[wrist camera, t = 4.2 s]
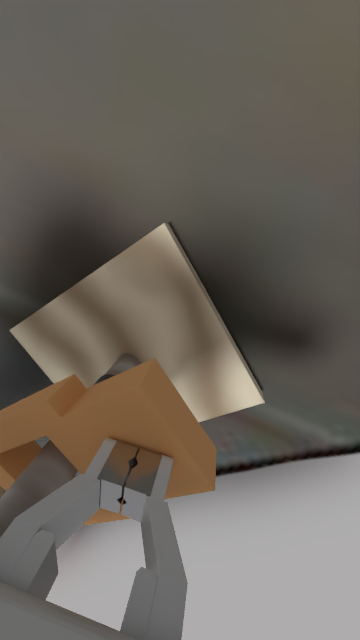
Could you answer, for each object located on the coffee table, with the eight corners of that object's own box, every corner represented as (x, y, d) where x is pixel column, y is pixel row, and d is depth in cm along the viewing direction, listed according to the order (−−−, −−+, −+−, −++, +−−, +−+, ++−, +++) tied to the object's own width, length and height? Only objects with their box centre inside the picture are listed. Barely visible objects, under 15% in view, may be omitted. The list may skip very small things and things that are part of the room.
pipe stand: (113, 438, 29) (-16, 679, 13) (21, 324, 25) (-323, 482, 9) (262, 391, 22) (348, 774, 7) (168, 223, 18) (-204, 175, 2)
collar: (67, 496, 16) (47, 530, 14) (-10, 415, 14) (-46, 442, 12) (225, 462, 12) (225, 504, 10) (143, 339, 10) (124, 364, 8)
